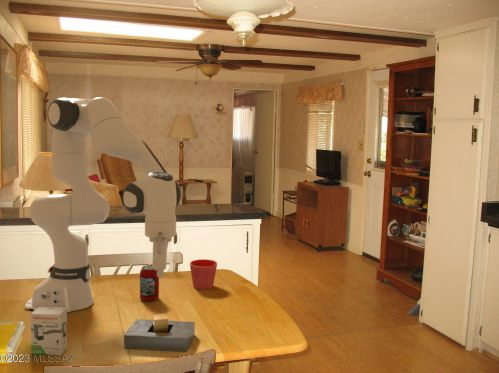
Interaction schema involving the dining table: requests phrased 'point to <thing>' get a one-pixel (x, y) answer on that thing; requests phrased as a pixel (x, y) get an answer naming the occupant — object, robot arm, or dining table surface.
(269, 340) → the dining table surface
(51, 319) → the ink box
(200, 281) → the flower pot
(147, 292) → the beverage can
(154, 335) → the jig
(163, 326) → the tilted wooden brick
